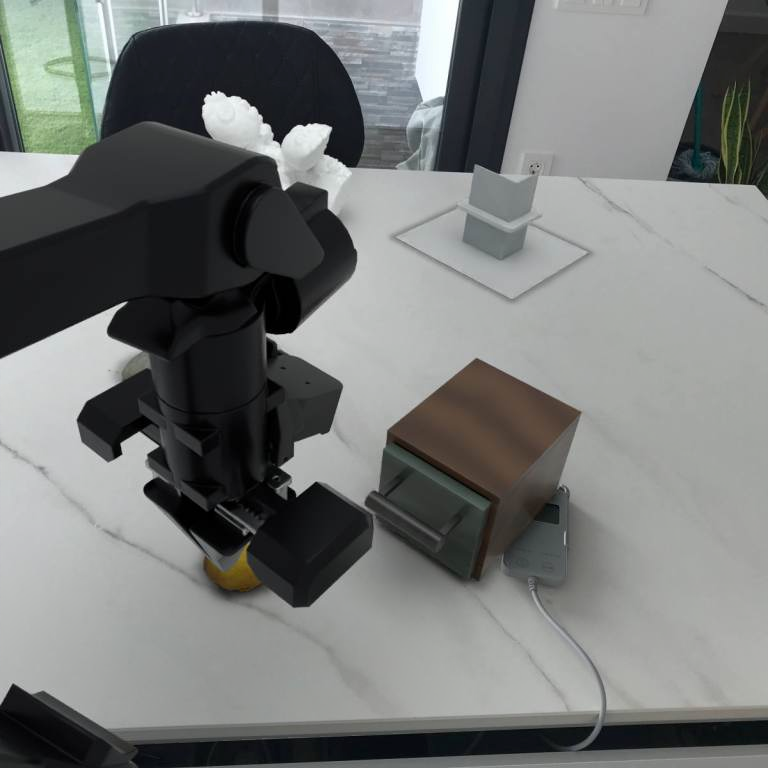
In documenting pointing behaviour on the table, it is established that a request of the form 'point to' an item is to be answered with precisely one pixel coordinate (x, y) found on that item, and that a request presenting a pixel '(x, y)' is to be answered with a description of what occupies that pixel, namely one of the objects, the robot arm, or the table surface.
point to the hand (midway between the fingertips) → (226, 565)
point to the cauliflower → (297, 152)
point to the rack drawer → (430, 509)
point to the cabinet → (493, 446)
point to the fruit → (233, 574)
